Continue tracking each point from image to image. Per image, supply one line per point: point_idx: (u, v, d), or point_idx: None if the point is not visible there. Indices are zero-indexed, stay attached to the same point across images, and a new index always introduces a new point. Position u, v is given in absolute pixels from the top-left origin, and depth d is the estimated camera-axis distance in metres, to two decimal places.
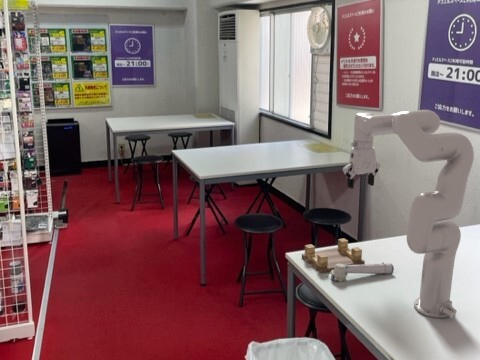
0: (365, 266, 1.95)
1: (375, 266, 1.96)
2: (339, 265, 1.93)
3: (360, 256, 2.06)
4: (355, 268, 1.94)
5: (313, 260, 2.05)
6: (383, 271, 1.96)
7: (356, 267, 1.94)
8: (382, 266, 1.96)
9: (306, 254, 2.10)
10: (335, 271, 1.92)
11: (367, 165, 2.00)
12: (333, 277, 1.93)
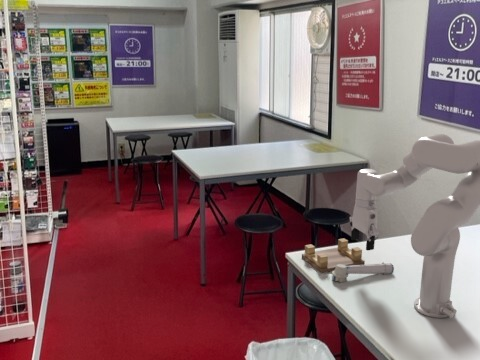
0: (366, 266, 1.95)
1: (375, 266, 1.96)
2: (340, 266, 1.92)
3: (360, 256, 2.06)
4: (356, 268, 1.93)
5: (313, 260, 2.05)
6: (383, 271, 1.96)
7: (357, 267, 1.94)
8: (382, 266, 1.96)
9: (306, 254, 2.10)
10: (336, 272, 1.92)
11: None
12: (334, 278, 1.92)
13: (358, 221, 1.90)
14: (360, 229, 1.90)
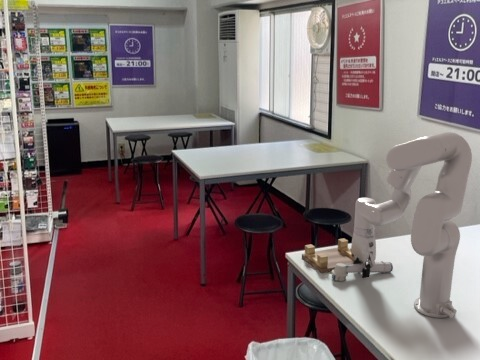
0: None
1: (375, 265, 1.96)
2: (340, 265, 1.92)
3: None
4: (356, 267, 1.94)
5: (313, 260, 2.05)
6: (382, 270, 1.97)
7: (356, 266, 1.94)
8: (381, 265, 1.97)
9: (306, 254, 2.10)
10: (336, 271, 1.92)
11: None
12: (334, 277, 1.92)
13: (357, 249, 1.93)
14: (359, 257, 1.93)
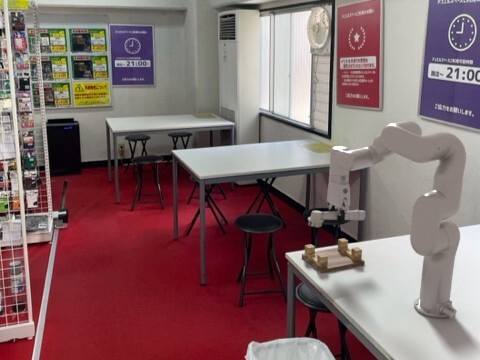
0: None
1: (349, 212, 2.04)
2: (316, 211, 1.99)
3: (360, 256, 2.06)
4: (331, 214, 2.01)
5: (313, 260, 2.05)
6: (357, 217, 2.04)
7: (332, 213, 2.01)
8: (356, 212, 2.04)
9: (306, 254, 2.10)
10: (312, 217, 1.99)
11: None
12: (310, 223, 1.99)
13: (332, 196, 2.00)
14: (334, 204, 2.00)
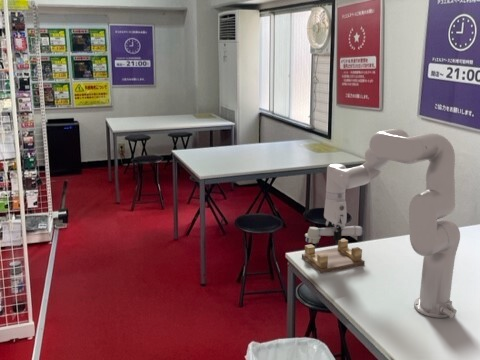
0: None
1: (346, 228, 2.07)
2: (313, 228, 2.02)
3: (360, 256, 2.06)
4: (328, 230, 2.04)
5: (313, 260, 2.05)
6: (353, 233, 2.08)
7: (328, 229, 2.04)
8: (352, 228, 2.08)
9: (306, 254, 2.10)
10: (309, 234, 2.02)
11: None
12: (307, 239, 2.02)
13: (329, 213, 2.03)
14: (331, 220, 2.03)
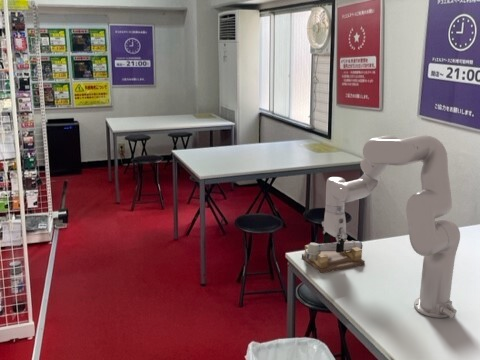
0: None
1: (345, 244, 2.09)
2: (313, 244, 2.04)
3: (360, 256, 2.06)
4: (328, 246, 2.06)
5: (313, 260, 2.05)
6: None
7: (328, 245, 2.06)
8: (352, 243, 2.09)
9: None
10: (309, 250, 2.03)
11: None
12: (307, 255, 2.04)
13: (328, 225, 2.05)
14: (330, 233, 2.05)
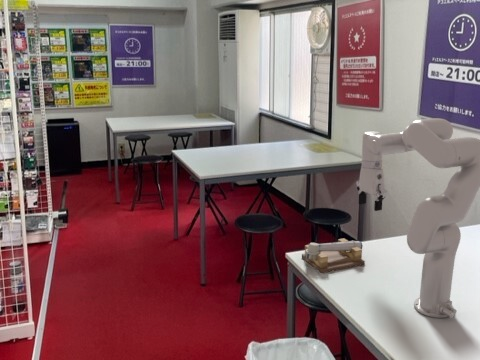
0: (336, 244, 2.07)
1: (345, 244, 2.09)
2: (313, 244, 2.04)
3: (360, 256, 2.06)
4: (328, 246, 2.06)
5: (313, 260, 2.05)
6: None
7: (328, 245, 2.06)
8: (352, 243, 2.09)
9: None
10: (309, 250, 2.03)
11: None
12: (307, 255, 2.04)
13: (365, 183, 1.95)
14: (367, 191, 1.95)
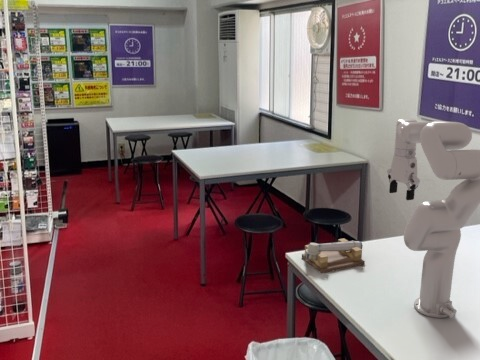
0: (336, 244, 2.07)
1: (345, 244, 2.09)
2: (313, 244, 2.04)
3: (360, 256, 2.06)
4: (328, 246, 2.06)
5: (313, 260, 2.05)
6: None
7: (328, 245, 2.06)
8: (352, 243, 2.09)
9: None
10: (309, 250, 2.03)
11: None
12: (307, 255, 2.04)
13: (397, 172, 1.91)
14: (399, 179, 1.91)
